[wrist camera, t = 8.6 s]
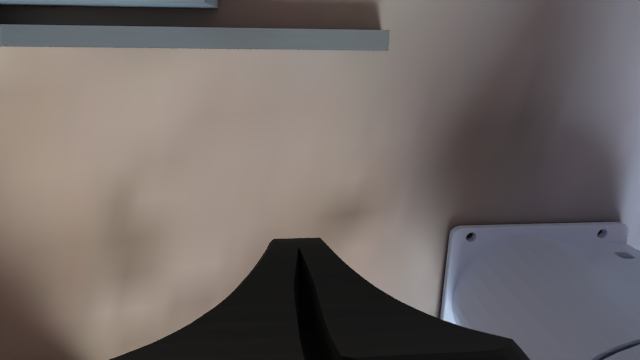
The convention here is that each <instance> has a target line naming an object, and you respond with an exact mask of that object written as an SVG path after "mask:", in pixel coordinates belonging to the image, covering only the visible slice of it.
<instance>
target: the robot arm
mask: <svg viewBox="0 0 640 360" xmlns="http://www.w3.org/2000/svg"><path fill="white" fill-rule="evenodd" d="M600 230H602V231H601V233H600V234H599V235H597V234H598V232H599V231H600ZM471 232H472V233H473V235H472V237H471V238H469V239H466V236H467V235H468V234H469V233H471ZM628 234H629V228H628V226H626V225H625V224H623V223H621V222H589V223H547V224H505V225H463V226H456V227H454V228H453V229H452V230H451V231H450V235H449V243H448V252H447V261H446V270H445V279H444V289H443V298H442V307H441V316H440V319H439V318H436V317H434V316H431V315H428V314H426V313H424V312H422V311H419V310H417V309H415V308H413V307H411V306H408V305H406V304H404V303H402V302H400V301H398V300H397V299H395V298H393V297H391V296H390V295H388V294H386V293H385V292H383V291H381V290H380V289H378V288H377V287H375V286H374V285H372V284H371V283H369V282H368V281H367V280H365V279H364V278H363V277H361V276H360V275H359V274H357V273H356V272H355V271H354V270H352V269H351V268H350V267H349V266H348V265H347V264H346V263H344V262H343V261H342V260H341V259H340V258H339V257H338V256H337V255H336V254H335V253H334V252H333V251H332V250H331V249H330V248H329V247H328V246H327V244H326V243H325V242H324V241H323V240H322V239H321V238H294V239H273V240H272V241H271V242H270V243H269V246H268V247H267V249H266V251H265V253H264V254H263V256H262V257H261V259H260V260H259V262H258V263H257V264H256V266H255V267H254V268H253V270H252V271H251V272H250V274H249V275H248V276H247V277H246V278H245V279H244V280H243V281H242V283H241V284H240V285H239V286H238V287H237V288H236V289H235V290H234V291H233V292H232V293H231V294H230V295H229V296H228V297H227V298H226V299H225V300H223V301H222V302H221V303H220V304H218V305H217V306H216V307H215V308H213V309H212V310H210V311H209V312H207V313H206V314H204V315H203V316H201V317H200V318H198V319H197V320H195V321H194V322H192V323H191V324H189V325H187V326H185V327H184V328H182V329H180V330H178V331H176V332H174V333H172V334H170V335H168V336H166V337H164V338H162V339H160V340H158V341H156V342H154V343H151V344H149V345H146V346H144V347H141V348H139V349H136V350H134V351H131V352H129V353H126V354H123V355H121V356H118V357H115V358H112V359H110V360H640V251H638V250H636V249H635V248H633V247H631V246H630V245H628V244H626V242H627V238H628Z"/></svg>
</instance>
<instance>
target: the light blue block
mask: <svg viewBox="0 0 640 360" xmlns="http://www.w3.org/2000/svg"><path fill="white" fill-rule="evenodd" d="M0 5H50V6H102V7H155V8H207V9H219V4H218V0H0Z"/></svg>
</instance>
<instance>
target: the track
mask: <svg viewBox="0 0 640 360" xmlns="http://www.w3.org/2000/svg"><path fill="white" fill-rule="evenodd" d="M388 45H389V30H351V29H283V28H216V27H149V26H82V25H15V24H0V46H20V47H112V48H204V49H296V50H388Z"/></svg>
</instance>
